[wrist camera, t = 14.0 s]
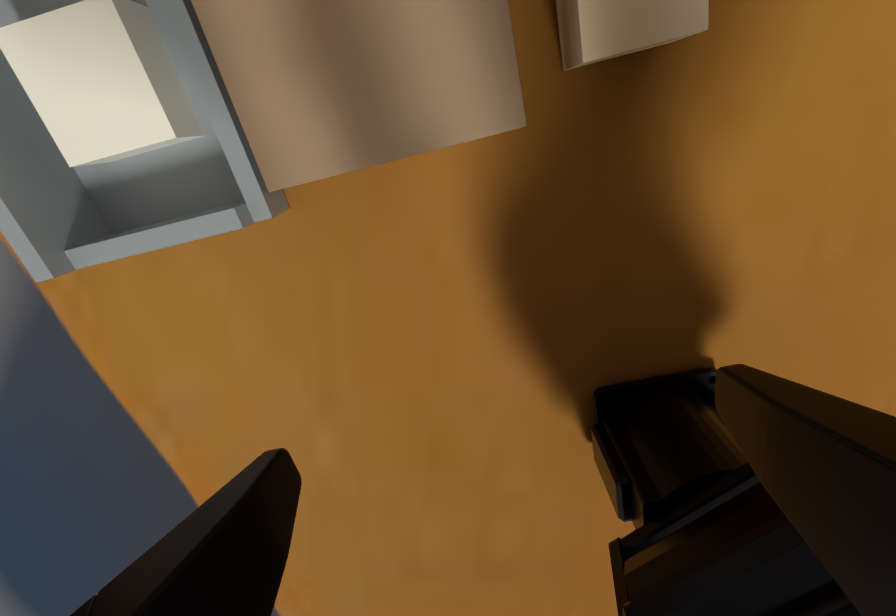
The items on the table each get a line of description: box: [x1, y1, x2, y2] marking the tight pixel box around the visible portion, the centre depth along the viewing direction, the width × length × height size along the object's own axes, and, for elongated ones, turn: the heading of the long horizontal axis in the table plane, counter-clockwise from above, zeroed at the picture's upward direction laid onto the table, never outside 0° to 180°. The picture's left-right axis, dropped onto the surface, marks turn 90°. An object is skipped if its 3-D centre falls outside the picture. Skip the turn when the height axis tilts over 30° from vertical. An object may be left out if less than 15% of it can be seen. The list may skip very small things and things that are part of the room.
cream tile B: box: [0, 0, 206, 167], centre depth 16 cm, size 4×4×2 cm
